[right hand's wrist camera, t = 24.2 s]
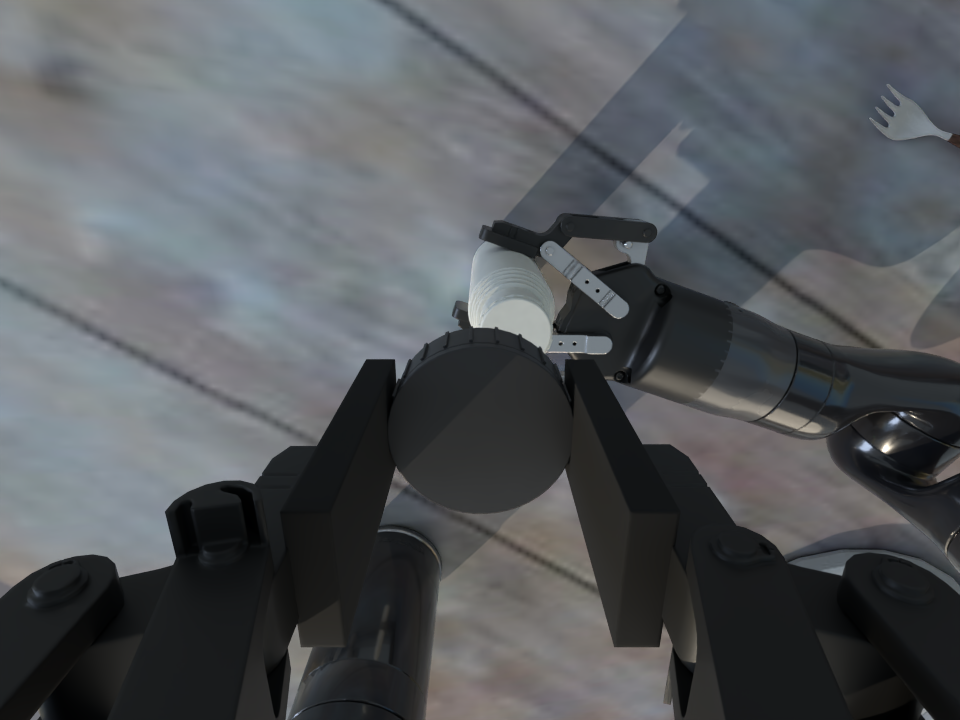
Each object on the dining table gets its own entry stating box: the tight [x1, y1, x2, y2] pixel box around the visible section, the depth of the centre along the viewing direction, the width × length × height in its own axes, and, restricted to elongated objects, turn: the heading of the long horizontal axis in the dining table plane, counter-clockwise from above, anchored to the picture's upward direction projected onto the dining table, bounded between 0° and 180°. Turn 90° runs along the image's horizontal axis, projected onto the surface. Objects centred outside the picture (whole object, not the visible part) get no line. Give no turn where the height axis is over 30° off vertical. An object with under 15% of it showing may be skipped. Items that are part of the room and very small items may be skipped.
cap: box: [388, 326, 573, 514], centre depth 14 cm, size 5×5×2 cm
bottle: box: [468, 241, 555, 354], centre depth 33 cm, size 5×5×18 cm
